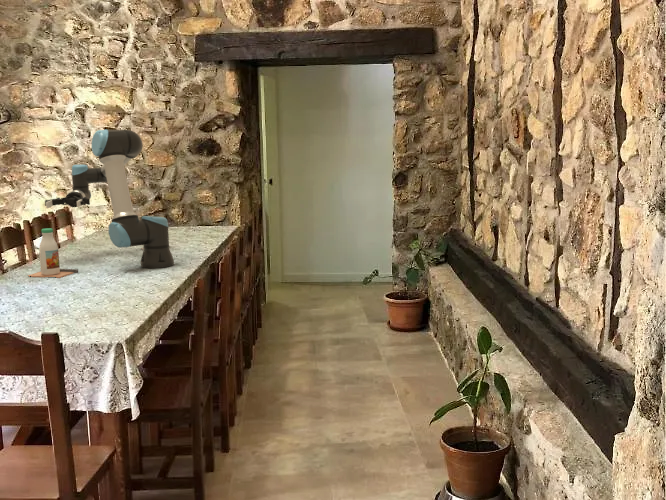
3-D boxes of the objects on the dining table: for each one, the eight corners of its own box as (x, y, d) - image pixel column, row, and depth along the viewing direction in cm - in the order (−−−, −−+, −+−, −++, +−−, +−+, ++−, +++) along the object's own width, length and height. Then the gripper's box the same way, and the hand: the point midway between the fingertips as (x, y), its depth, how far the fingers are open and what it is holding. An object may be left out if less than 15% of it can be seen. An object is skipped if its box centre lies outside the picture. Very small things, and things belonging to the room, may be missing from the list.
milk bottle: (40, 276, 296) (36, 230, 292) (42, 272, 303) (38, 228, 300) (59, 274, 298) (55, 229, 294) (61, 271, 305) (57, 227, 302)
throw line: (78, 272, 305) (78, 269, 305) (76, 273, 304) (76, 269, 304) (42, 271, 309) (42, 268, 309) (40, 272, 308) (40, 268, 308)
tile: (73, 273, 303) (73, 272, 303) (60, 277, 294) (60, 276, 294) (41, 272, 307) (41, 271, 307) (27, 276, 297) (27, 275, 297)
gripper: (102, 205, 333) (91, 212, 312) (49, 207, 331) (34, 213, 310) (101, 190, 331) (89, 195, 311) (48, 191, 329) (33, 197, 309)
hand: (62, 204), depth 310 cm, fingers open, 13 cm apart
